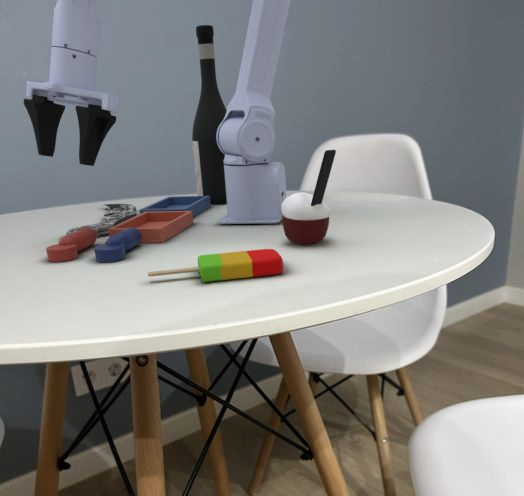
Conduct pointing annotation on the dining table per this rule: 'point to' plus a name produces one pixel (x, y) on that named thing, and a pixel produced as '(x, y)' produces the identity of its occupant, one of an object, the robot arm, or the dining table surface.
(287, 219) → the cocoa
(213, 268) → the popsicle
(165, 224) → the red tray
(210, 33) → the wine bottle
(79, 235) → the red lobed piece
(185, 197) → the blue tray
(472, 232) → the dining table surface
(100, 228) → the marbled grey crescent
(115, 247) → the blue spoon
